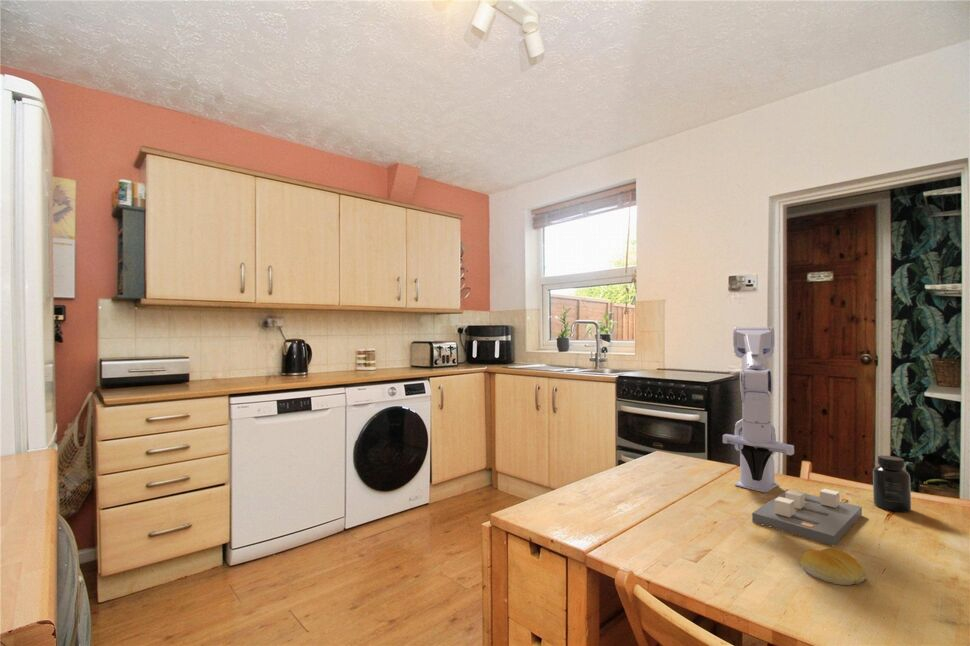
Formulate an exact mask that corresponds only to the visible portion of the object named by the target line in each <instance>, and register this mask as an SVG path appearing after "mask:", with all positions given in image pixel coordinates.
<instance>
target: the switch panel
mask: <svg viewBox="0 0 970 646" xmlns="http://www.w3.org/2000/svg"><path fill="white" fill-rule="evenodd" d="M788 490H789V489H786V490H784V491H783V492H782V493H780V494H779V495H777V496H776V497H774V498H772V499H771V500H769V501H768V502H766V503H765V504H763V505H761V506H760V507H759V508H757V509H756V510H754V511H753V512H752V513H751V517H752V520H751V521H752V523H755V522H756V524H758V523H759V524H758V525H762V524H763V525H762V526H765V525H767V526H766V527H768V526H771V527H770V528H772V527H774V528H773V529H775V528H777V529H776V530H779V529H780V530H779V531H782V530H783V531H782V532H785V531H786V532H785V533H790V534H792V533H793V535H795V534H796V536H799V535H800V537H802V536H803V537H802V538H805V537H806V538H805V539H810V540H812V541H815V540H816V541H815V542H819V543H823V544H826V545H830V546H832V545H833V547H835V545H836V544H837V543H838V542H839V541H840V540H841V539H842V538H843V537H844V536H843V535H845V534H846V533H847V532H848V531H849V530H850V529H851V528H852V527H853V526H852V525H853V524H854V525H855V523H856V522H857V521H859V519H860V518H861V517H862V516H861V515H863V514H862V513H863V512H862V511H863V510H862V509H863V508H862V506H860V505H855V504H852V503H848V502H847V503H846V502H842V501H839V503H840V505H839V506H838V507H836V508H834V507H830V506H826V505H822V504H820V496H817V495H814V494H809V493H805V506H804V507H803V508H801V509H798V508H795V514H794V515H792V516H791V517H786V516H783V515H779V514H775V511H774V500H775V499H776V498H778V497H783V498H785V492H787V491H788ZM851 526H852V527H851ZM842 536H843V537H842ZM841 537H842V538H841Z"/></svg>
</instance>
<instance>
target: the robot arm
mask: <svg viewBox="0 0 970 646" xmlns="http://www.w3.org/2000/svg"><path fill="white" fill-rule="evenodd" d="M732 330H733V333H732V335H733V336H732V339H733V342H732V343H733V350H734V354H735V355H734V356H735V357H737V358H740V359H741V371H740V372H739V390H740V394H741V395H740V396H741V397H740V398H741V401H742V402H741V412H742V413H741V414H742V415H741V416H742V418H741V419H740V420H738V421H736V422H735V424H734V434H729V433H725V434H723V435H722V443H723V444H731V445H734V449H735V450H736V451H737V452H738V451H739V464H740V466H739V467H740V471H739V473H740V475H739V476H740V480H738V481H736V482H735V483H734V486H737V487H741V488H744V489H749V490H753V491H757V492H760V493H768V492H770V491H771V490H773V489H775V488H776V487H777V486H779V483H777V482H775V479H776V478H775V460H774V458H773V456H772V455H775V454H777V453H779V454H785V455H787V456H793V455H794V454H795V445H794V444H788V443H784V442H779V441H777V436H776V435H777V434H776V427H775V426H774V425H773V423H772V421H771V420H772V419H771V418H772V417H771V412H772V411H771V407H772V405H771V396H772V394H773V390H774V388H773V387H774V386H773V385H774V383H773V382H774V381H773V373H772V370H771V368H770V365H769V359H770V358H772V357H773V354H774V349H775V328H774V327H773V326H745V327H743V326H740V327H739V326H735V327H734V328H733V329H732ZM769 393H770V394H769Z"/></svg>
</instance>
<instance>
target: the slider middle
mask: <svg viewBox="0 0 970 646" xmlns="http://www.w3.org/2000/svg"><path fill="white" fill-rule="evenodd" d="M805 494H806V493H805V492H802V491H798V490H794V489H788V491H787V492H785V498H787V499H791V500H794V508H798V509H801V508H803V507H804V506H805Z"/></svg>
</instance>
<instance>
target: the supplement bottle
mask: <svg viewBox="0 0 970 646" xmlns="http://www.w3.org/2000/svg"><path fill="white" fill-rule="evenodd" d="M876 463H877V466H875V467H874V468H873V469H872V489H873V490H872V492H873V495H872V496H873V504H874V505H875V506H877V507H878V508H880V509H882V508H883V510H886V511H891V512H895V511H896V512H895V513H907V512H908V513H909V512H910V511H911V510H912V494H911V476H910V473H909V472H908V471H907V470H905V469H904V468H905V460H904V458H902V457H898V456H891V455H877V462H876Z"/></svg>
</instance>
